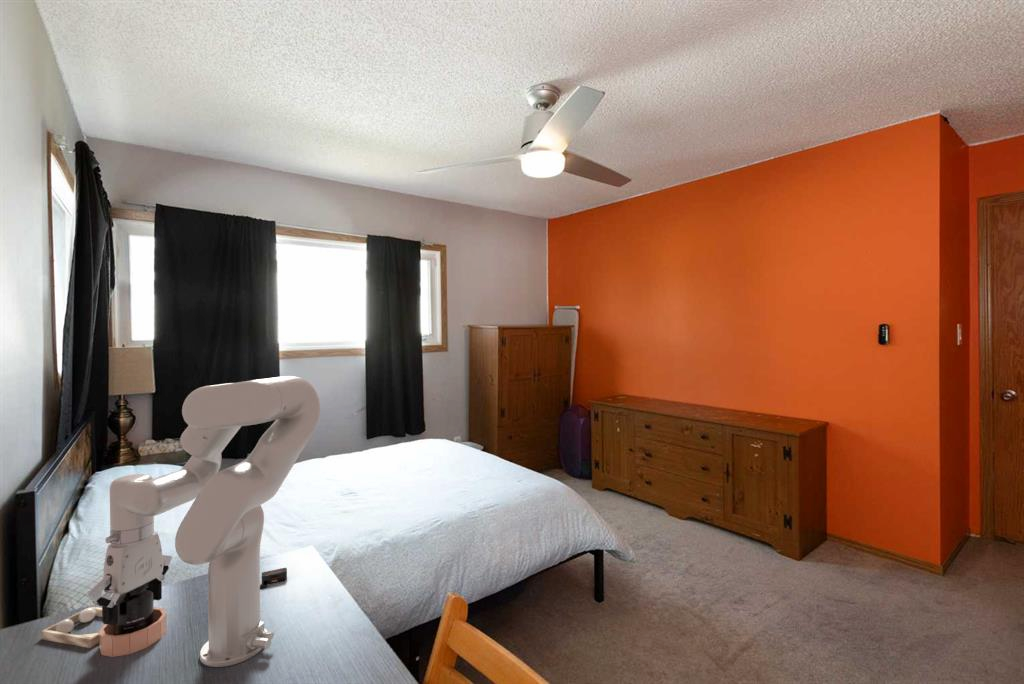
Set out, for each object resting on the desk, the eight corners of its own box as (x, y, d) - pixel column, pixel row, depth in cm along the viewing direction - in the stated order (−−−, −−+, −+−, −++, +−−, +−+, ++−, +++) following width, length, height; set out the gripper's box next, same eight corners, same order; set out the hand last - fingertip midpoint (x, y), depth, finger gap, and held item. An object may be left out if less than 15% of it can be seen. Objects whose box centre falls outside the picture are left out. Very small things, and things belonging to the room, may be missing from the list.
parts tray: (137, 621, 111) (137, 613, 111) (90, 648, 102) (90, 639, 102) (90, 614, 115) (90, 606, 115) (41, 640, 105) (41, 631, 105)
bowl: (178, 628, 109) (177, 610, 109) (128, 660, 98) (128, 640, 98) (139, 621, 111) (138, 604, 111) (86, 652, 100) (86, 633, 100)
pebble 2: (99, 618, 112) (99, 606, 112) (85, 626, 110) (85, 613, 110) (89, 617, 113) (89, 604, 113) (75, 624, 110) (75, 611, 110)
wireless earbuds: (258, 584, 128) (258, 573, 128) (286, 578, 132) (286, 567, 132) (258, 592, 124) (258, 580, 124) (287, 585, 128) (287, 574, 128)
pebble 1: (77, 630, 108) (77, 617, 108) (62, 638, 105) (61, 624, 105) (67, 628, 109) (67, 615, 109) (51, 636, 106) (51, 623, 106)
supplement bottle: (131, 646, 101) (131, 589, 101) (105, 642, 102) (105, 586, 102) (161, 627, 108) (161, 574, 108) (136, 624, 109) (136, 571, 109)
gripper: (104, 551, 95) (105, 637, 95) (182, 519, 112) (183, 592, 112) (75, 548, 97) (76, 632, 97) (156, 517, 114) (157, 589, 114)
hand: (133, 611), depth 105 cm, fingers open, 9 cm apart
